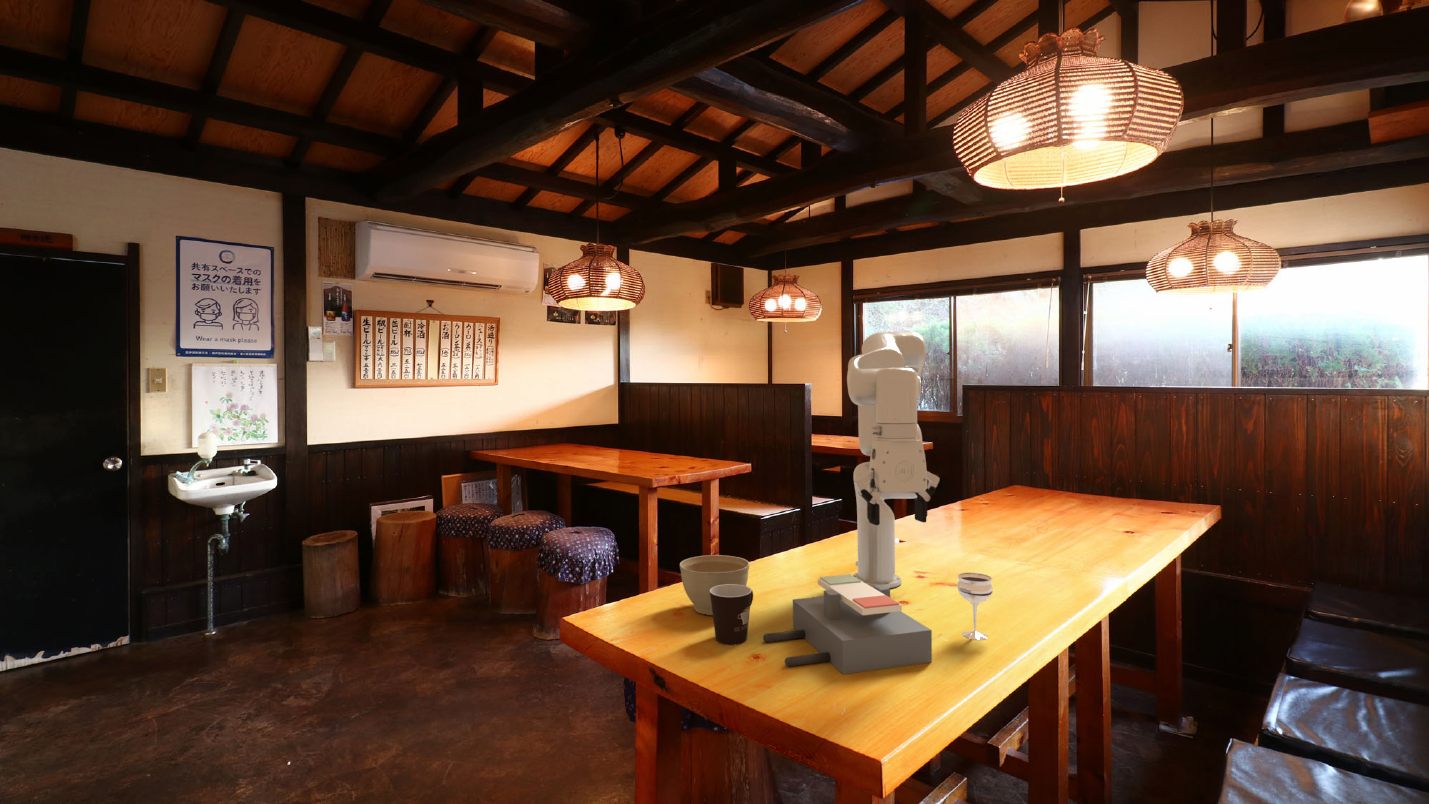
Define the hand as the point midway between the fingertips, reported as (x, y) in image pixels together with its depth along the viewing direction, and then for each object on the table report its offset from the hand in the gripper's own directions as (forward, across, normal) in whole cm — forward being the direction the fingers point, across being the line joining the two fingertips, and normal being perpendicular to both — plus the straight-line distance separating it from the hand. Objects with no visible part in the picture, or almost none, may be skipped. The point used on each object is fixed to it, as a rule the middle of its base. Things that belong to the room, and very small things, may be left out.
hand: (897, 522), depth 124 cm
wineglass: (+26, +20, +5) cm, 33 cm away
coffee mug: (+26, -27, +17) cm, 41 cm away
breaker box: (+25, -9, +7) cm, 28 cm away
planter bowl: (+25, -28, +35) cm, 51 cm away
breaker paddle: (+15, -5, +7) cm, 18 cm away
